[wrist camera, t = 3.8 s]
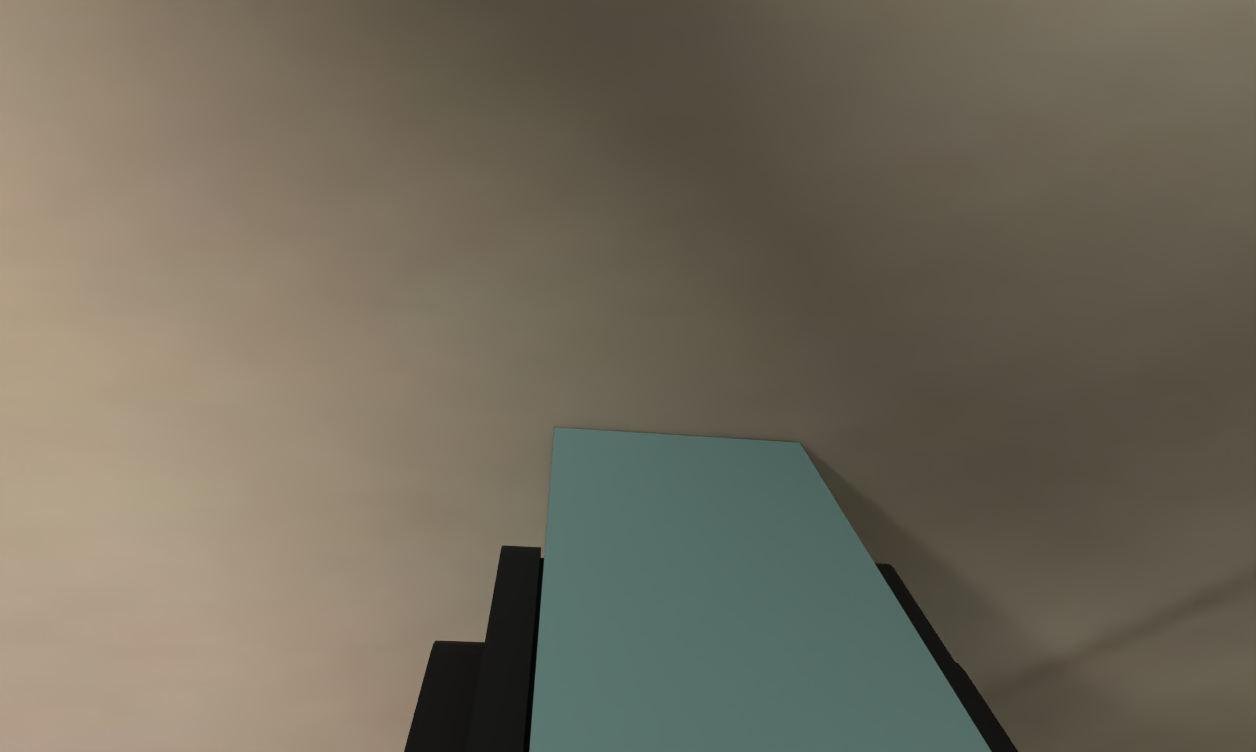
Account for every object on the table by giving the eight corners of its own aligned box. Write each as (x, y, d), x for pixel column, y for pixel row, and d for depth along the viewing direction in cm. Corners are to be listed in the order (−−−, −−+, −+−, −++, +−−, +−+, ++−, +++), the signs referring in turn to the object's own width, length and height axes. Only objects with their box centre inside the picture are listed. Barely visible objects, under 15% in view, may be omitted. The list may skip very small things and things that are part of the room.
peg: (554, 427, 13) (503, 1088, 4) (800, 442, 13) (1198, 1084, 5) (540, 636, 14) (480, 1456, 6) (764, 645, 14) (1022, 1432, 6)
